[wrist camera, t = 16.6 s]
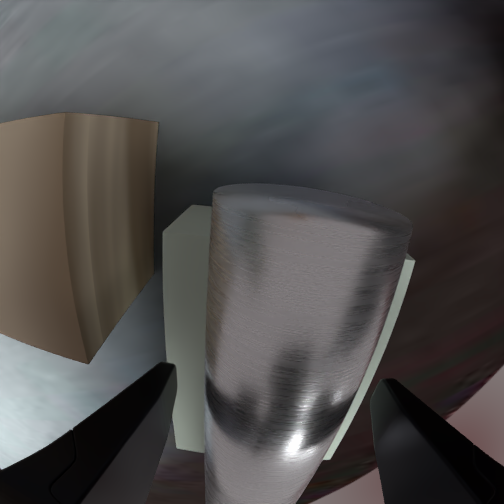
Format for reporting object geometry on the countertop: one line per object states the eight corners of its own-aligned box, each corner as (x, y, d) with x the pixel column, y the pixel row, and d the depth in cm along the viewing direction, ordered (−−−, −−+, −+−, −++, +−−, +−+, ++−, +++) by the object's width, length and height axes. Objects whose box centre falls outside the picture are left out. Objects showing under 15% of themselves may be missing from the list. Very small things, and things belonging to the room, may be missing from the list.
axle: (226, 178, 8) (191, 212, 4) (373, 198, 8) (452, 246, 4) (210, 481, 13) (202, 539, 10) (281, 487, 13) (281, 544, 10)
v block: (375, 226, 11) (415, 260, 8) (321, 407, 15) (329, 459, 11) (192, 204, 11) (162, 232, 8) (190, 396, 15) (176, 448, 11)
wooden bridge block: (158, 122, 10) (65, 112, 5) (154, 273, 12) (88, 364, 7) (-21, 139, 10) (-103, 156, 5) (-14, 246, 12) (-84, 289, 7)
